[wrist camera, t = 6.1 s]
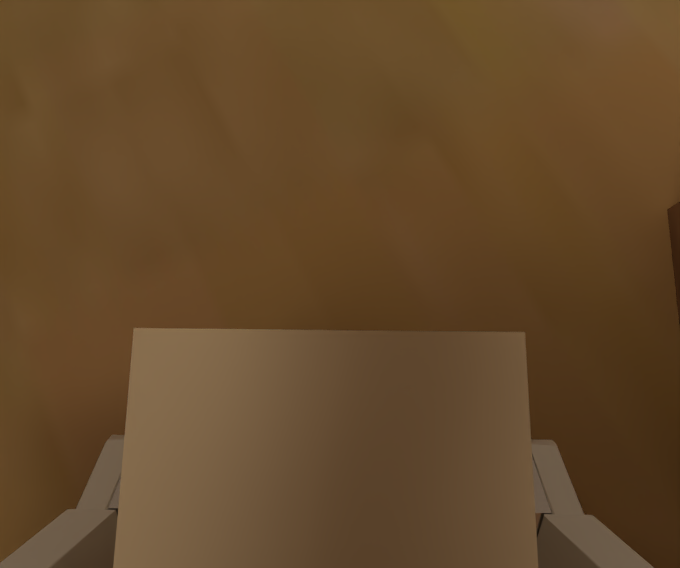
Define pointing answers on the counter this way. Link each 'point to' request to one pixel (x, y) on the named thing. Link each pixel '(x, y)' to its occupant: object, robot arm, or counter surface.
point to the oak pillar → (326, 450)
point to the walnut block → (675, 246)
